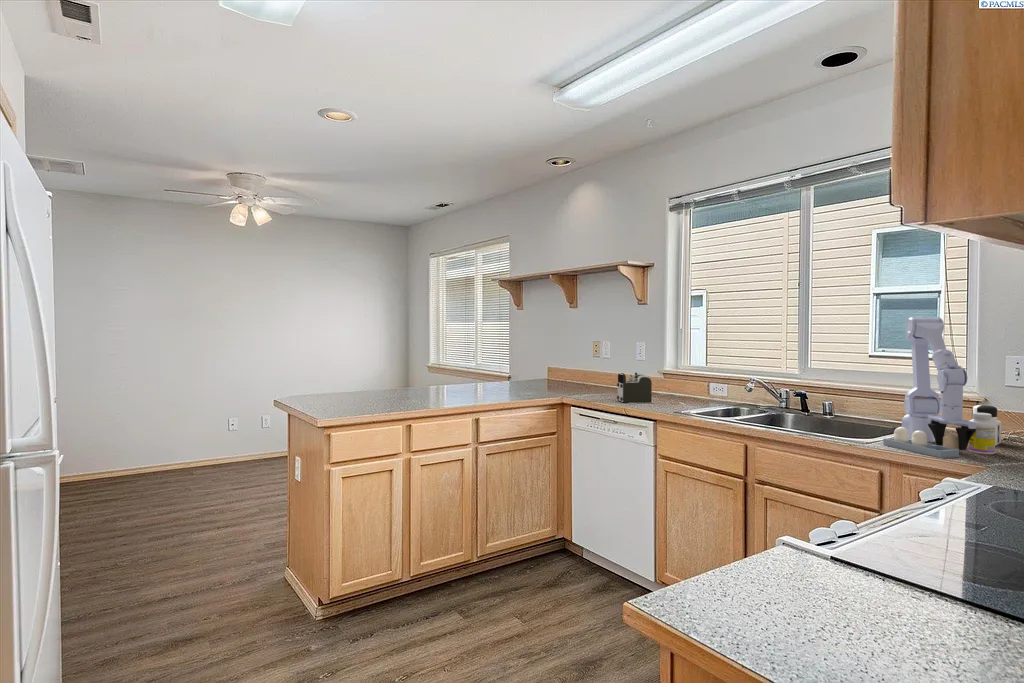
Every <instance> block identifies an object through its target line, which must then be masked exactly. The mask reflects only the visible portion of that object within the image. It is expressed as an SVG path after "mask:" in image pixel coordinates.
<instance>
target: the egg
mask: <svg viewBox="0 0 1024 683" xmlns="http://www.w3.org/2000/svg"><path fill="white" fill-rule="evenodd" d="M942 446H943V447H948V448H953V449H958V450H959V444H958V435H957V433H952V432H949V433H944V437H943V445H942ZM959 451H960V450H959Z"/></svg>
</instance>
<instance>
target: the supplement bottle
mask: <svg viewBox="0 0 1024 683" xmlns="http://www.w3.org/2000/svg"><path fill="white" fill-rule="evenodd" d="M991 418H992V415H991V414H988V413H973V412H972V419H974V420H972V419H971V420H972V421H971V422H976V431H975V433H974V434H973V435H972V437H971V438H970V440H969V443H968V446H967V448H968V452H970V453H975V454H981V455H994V454H996V446H995V424H994V423H993V422H991Z"/></svg>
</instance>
